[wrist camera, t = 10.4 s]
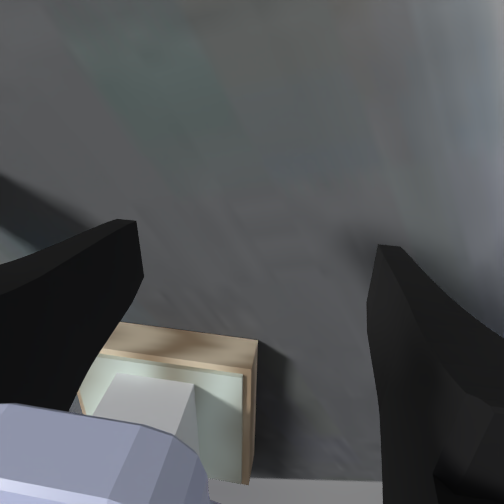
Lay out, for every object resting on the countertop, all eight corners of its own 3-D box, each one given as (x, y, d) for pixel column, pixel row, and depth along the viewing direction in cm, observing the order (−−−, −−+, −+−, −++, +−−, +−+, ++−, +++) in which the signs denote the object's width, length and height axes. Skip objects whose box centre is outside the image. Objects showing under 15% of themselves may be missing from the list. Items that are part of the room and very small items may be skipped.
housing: (200, 469, 31) (175, 560, 26) (135, 458, 31) (98, 544, 26) (193, 383, 26) (160, 474, 21) (117, 372, 27) (67, 457, 22)
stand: (258, 340, 27) (250, 373, 25) (254, 454, 33) (247, 488, 31) (82, 317, 29) (59, 345, 26) (110, 429, 35) (93, 461, 32)
